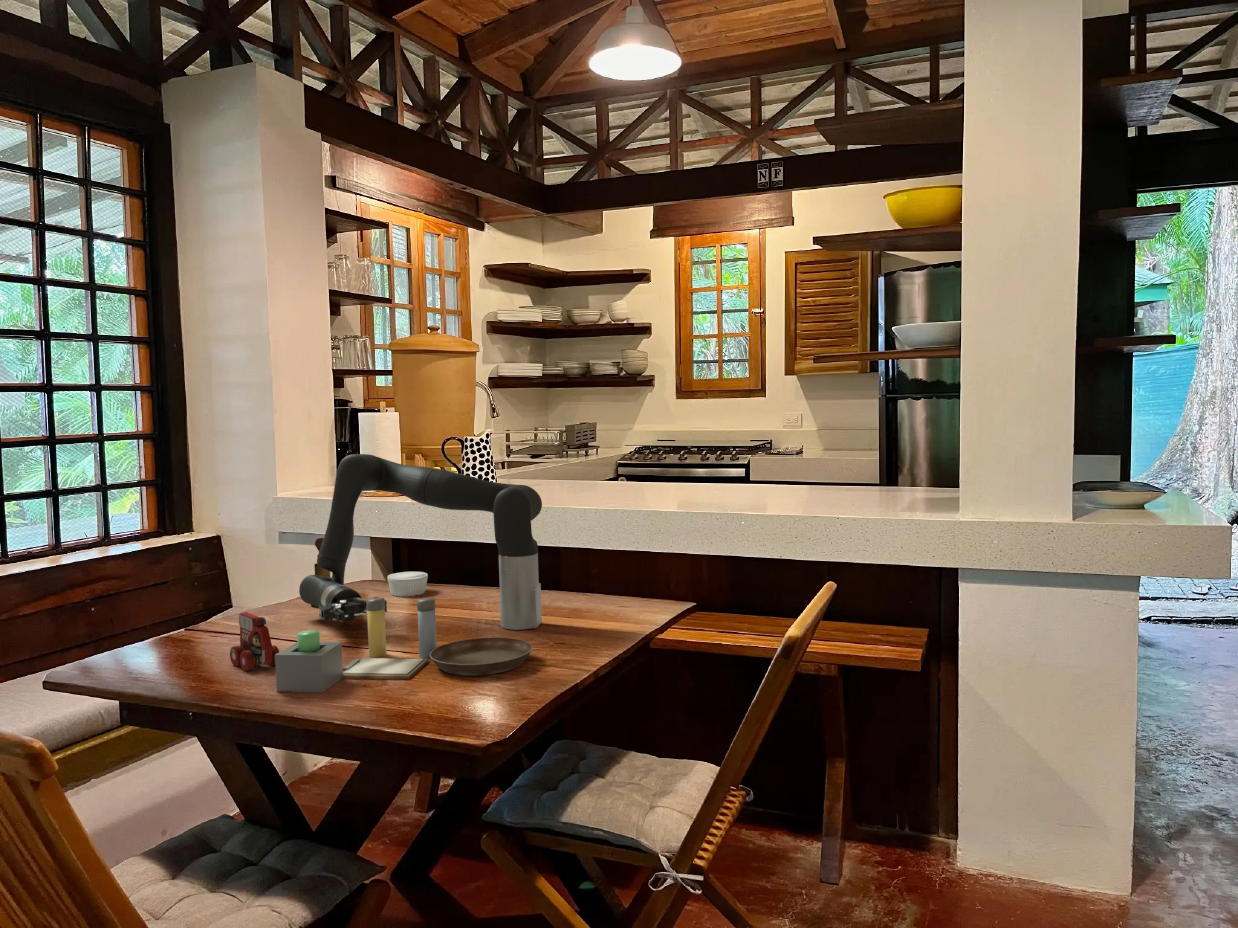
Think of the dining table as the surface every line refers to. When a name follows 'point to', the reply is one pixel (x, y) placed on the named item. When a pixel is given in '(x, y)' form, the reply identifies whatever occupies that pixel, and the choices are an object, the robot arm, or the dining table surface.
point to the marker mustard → (376, 627)
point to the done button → (308, 641)
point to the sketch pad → (383, 668)
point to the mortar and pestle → (318, 569)
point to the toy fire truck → (253, 643)
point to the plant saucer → (481, 655)
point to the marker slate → (426, 626)
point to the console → (309, 668)
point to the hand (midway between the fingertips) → (362, 614)
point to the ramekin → (407, 583)
